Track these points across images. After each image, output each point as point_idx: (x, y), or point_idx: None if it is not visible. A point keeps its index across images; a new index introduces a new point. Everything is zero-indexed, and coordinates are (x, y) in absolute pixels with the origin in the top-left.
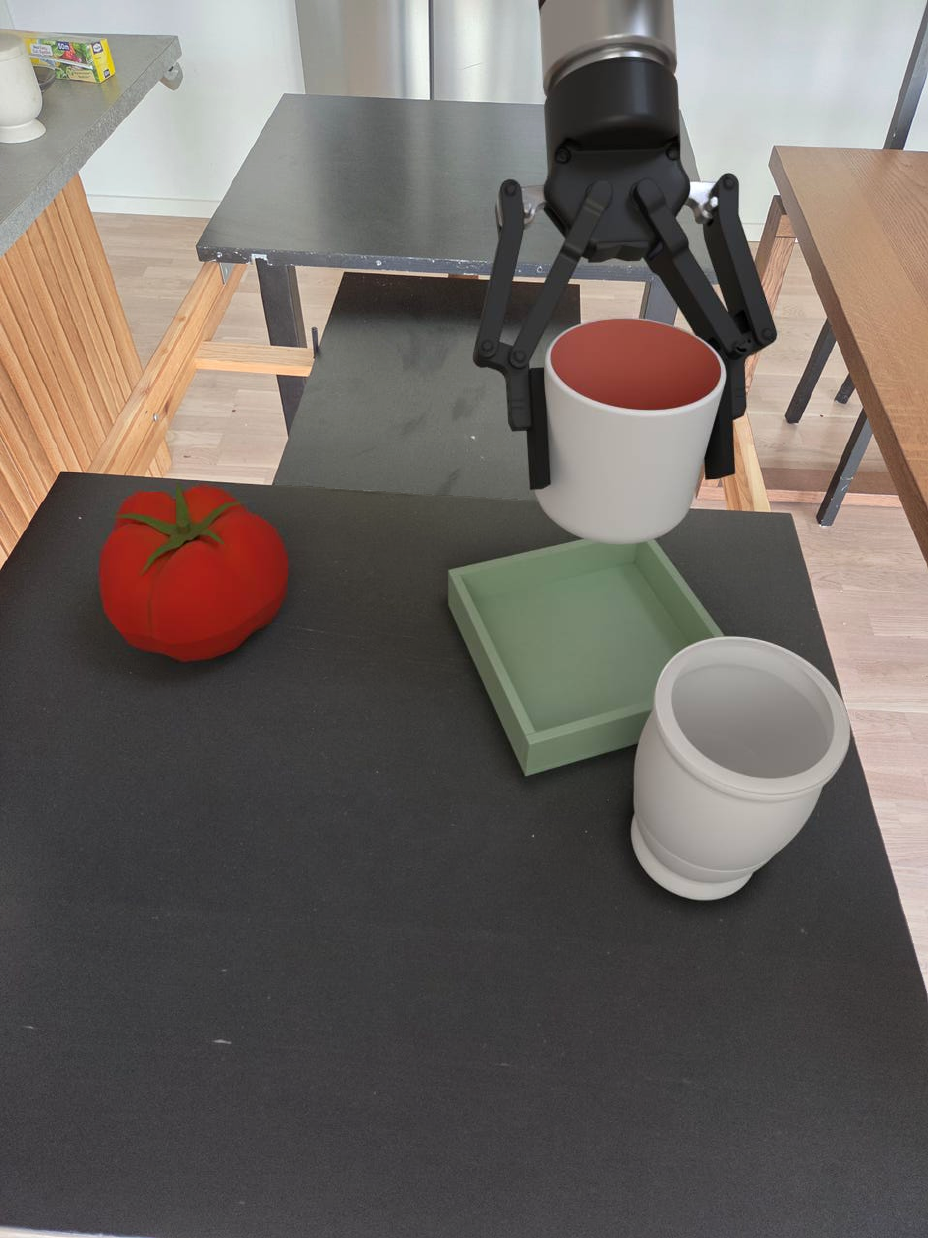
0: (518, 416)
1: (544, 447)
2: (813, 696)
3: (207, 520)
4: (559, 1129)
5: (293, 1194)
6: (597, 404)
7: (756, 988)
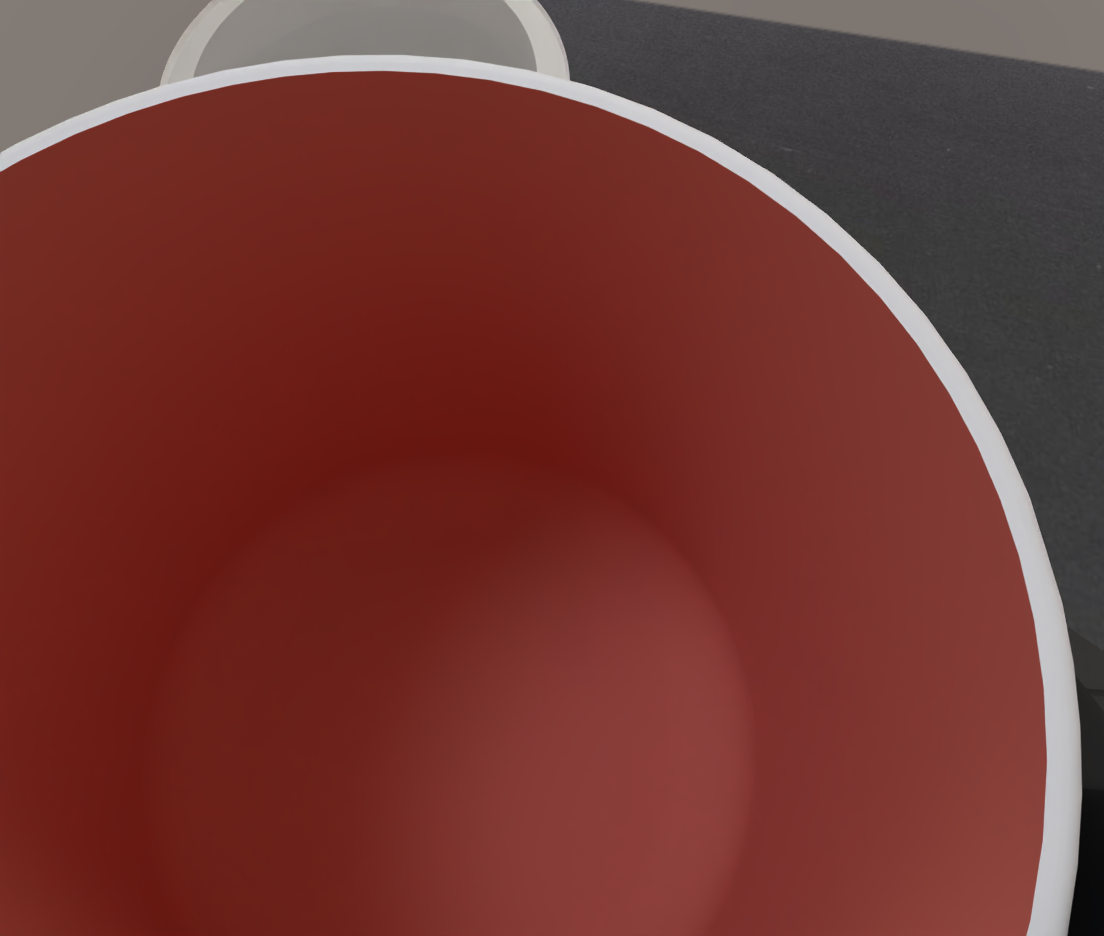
0: (1076, 662)
1: None
2: None
3: None
4: (733, 85)
5: (1034, 84)
6: (773, 182)
7: None
